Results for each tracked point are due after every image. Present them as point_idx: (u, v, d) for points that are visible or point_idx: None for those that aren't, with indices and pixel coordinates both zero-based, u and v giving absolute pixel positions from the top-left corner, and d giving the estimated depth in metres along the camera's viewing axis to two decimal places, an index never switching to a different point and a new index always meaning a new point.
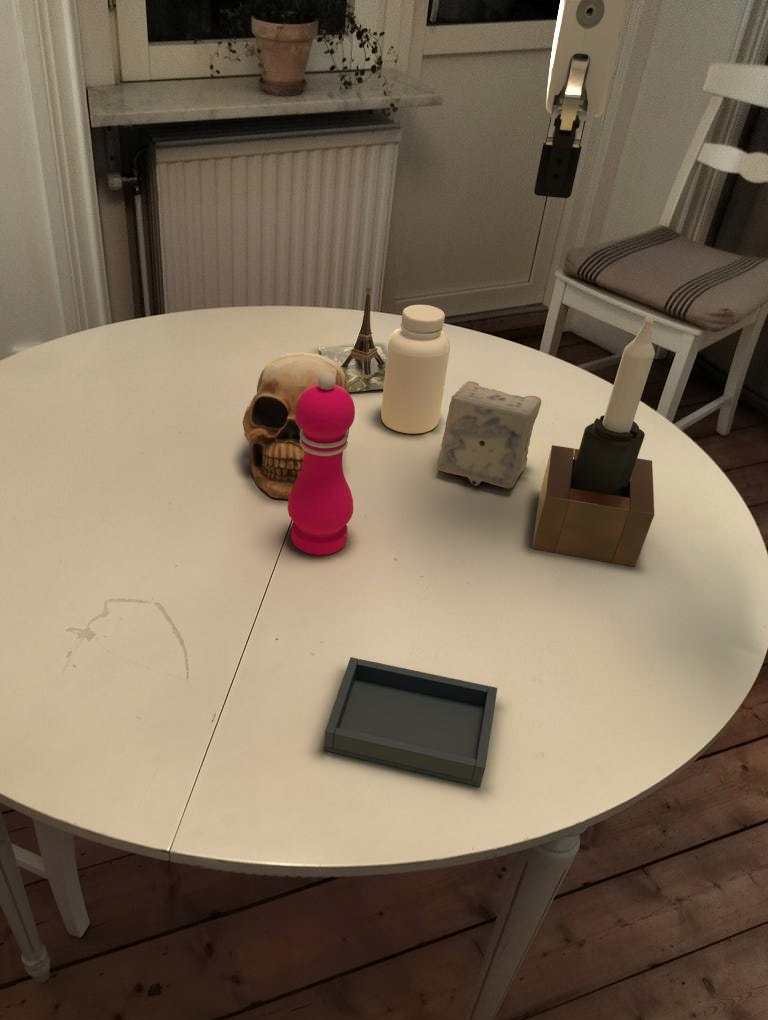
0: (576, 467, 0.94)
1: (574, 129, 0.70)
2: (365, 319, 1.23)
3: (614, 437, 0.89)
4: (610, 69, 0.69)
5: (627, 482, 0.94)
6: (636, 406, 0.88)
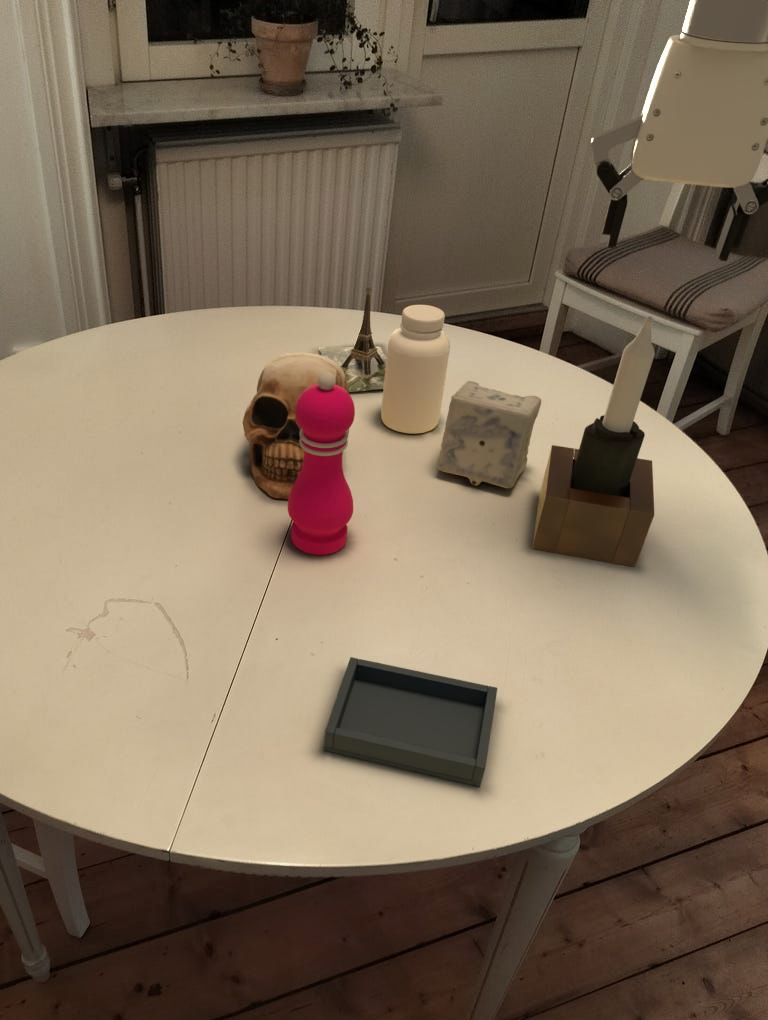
0: (576, 467, 0.94)
1: None
2: (365, 319, 1.23)
3: (613, 437, 0.89)
4: None
5: (627, 482, 0.94)
6: (636, 406, 0.88)
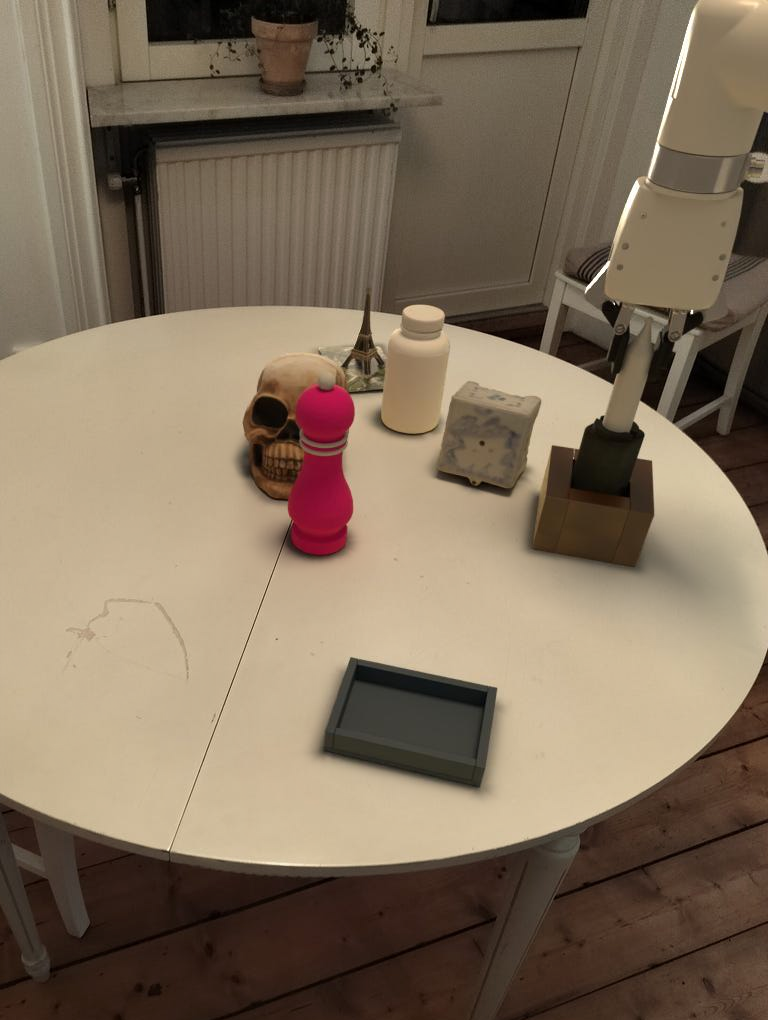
0: (576, 467, 0.94)
1: None
2: (365, 319, 1.23)
3: (614, 437, 0.89)
4: None
5: (627, 482, 0.94)
6: (636, 406, 0.88)
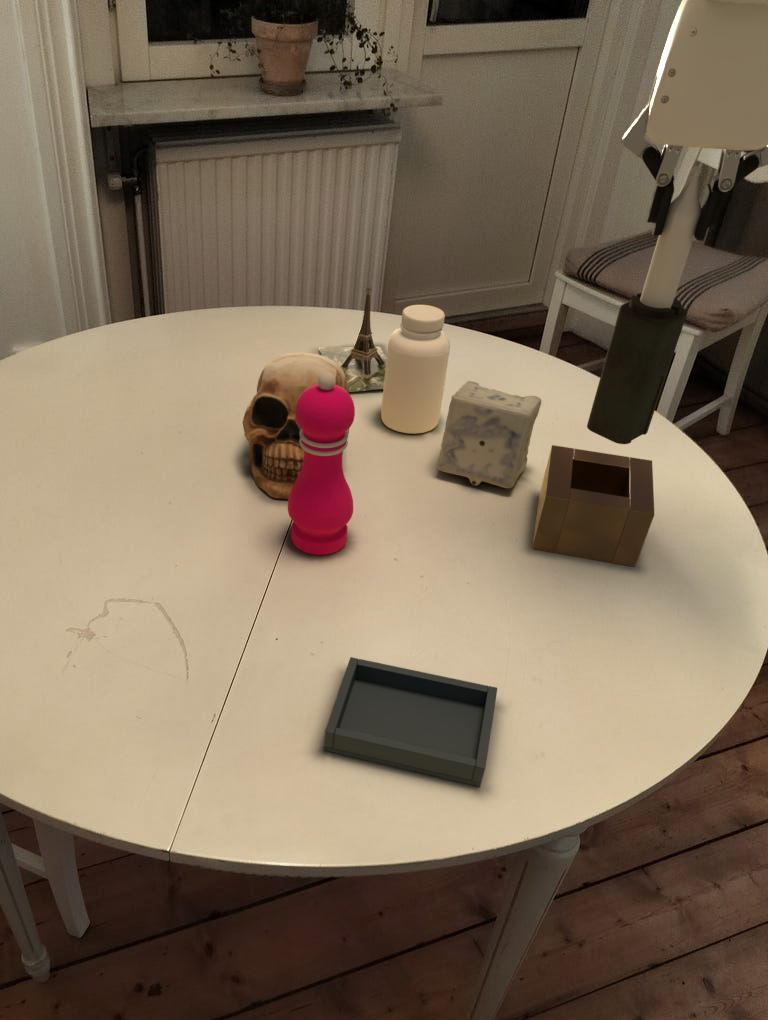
0: (609, 353, 0.84)
1: None
2: (365, 319, 1.23)
3: (653, 313, 0.80)
4: None
5: (666, 370, 0.84)
6: (679, 276, 0.78)
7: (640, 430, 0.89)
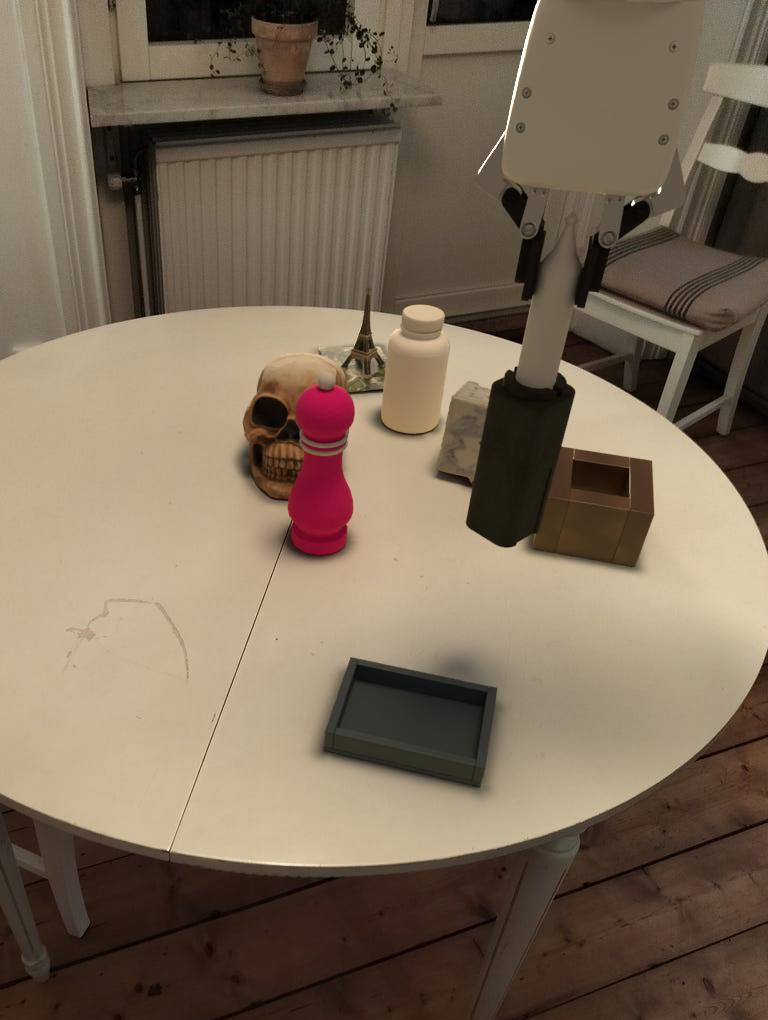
0: (483, 439, 0.67)
1: None
2: (365, 319, 1.23)
3: (529, 395, 0.63)
4: None
5: (554, 460, 0.67)
6: (560, 350, 0.61)
7: (528, 530, 0.72)
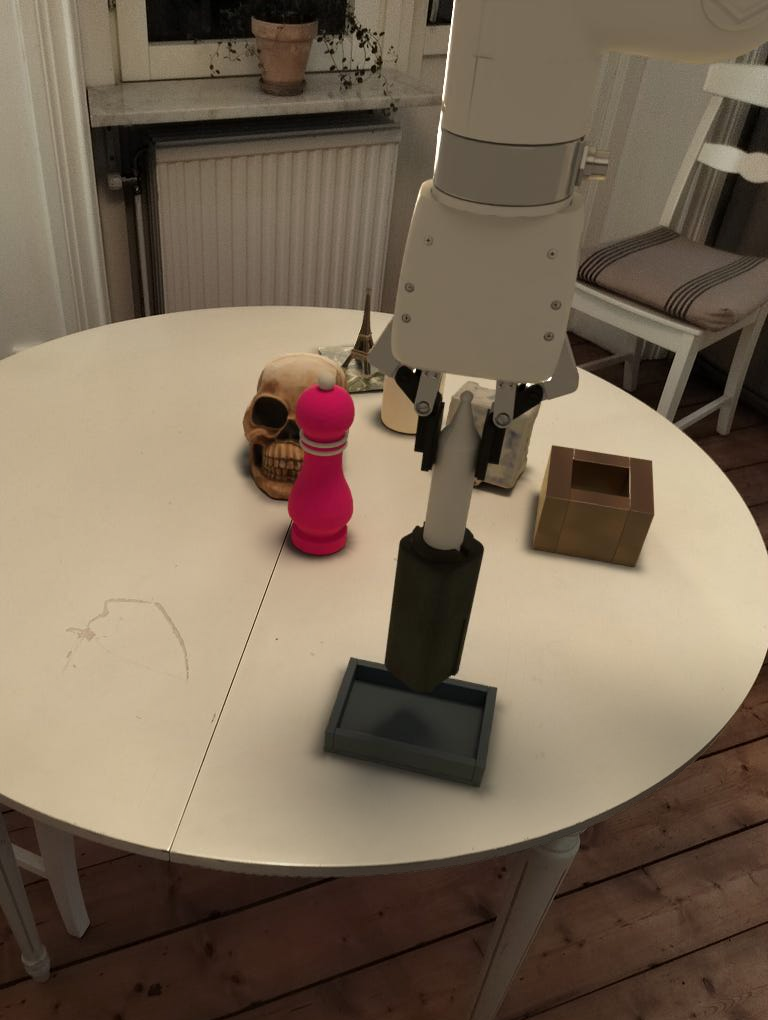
0: (395, 591, 0.66)
1: None
2: (365, 319, 1.23)
3: (435, 557, 0.61)
4: None
5: (467, 611, 0.66)
6: (464, 515, 0.60)
7: (446, 673, 0.70)
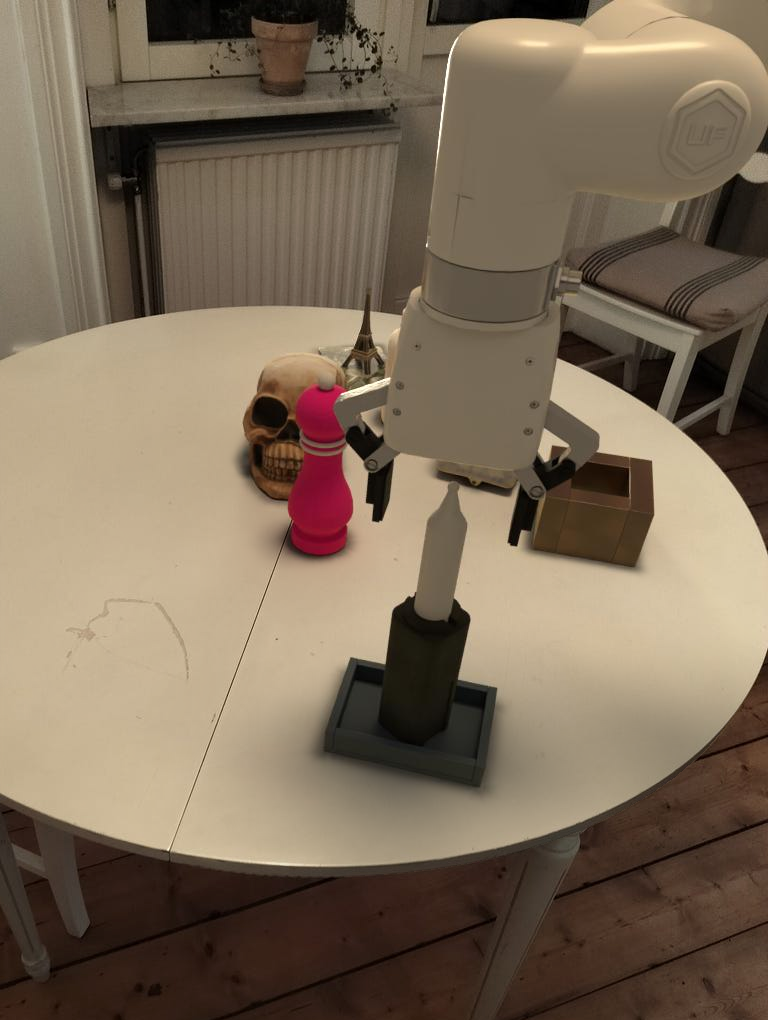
0: (388, 655, 0.71)
1: None
2: (365, 319, 1.23)
3: (425, 628, 0.66)
4: None
5: (455, 674, 0.71)
6: (451, 590, 0.65)
7: (436, 729, 0.75)
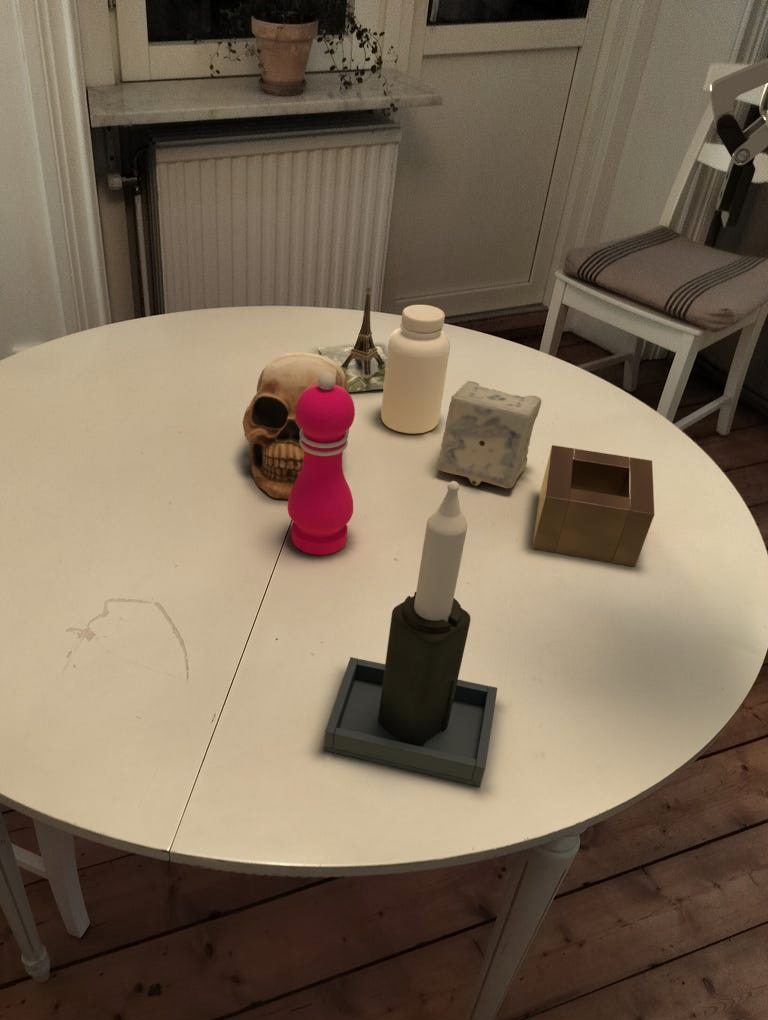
0: (388, 655, 0.71)
1: None
2: (365, 319, 1.23)
3: (425, 628, 0.66)
4: None
5: (455, 674, 0.71)
6: (451, 590, 0.65)
7: (436, 729, 0.75)
